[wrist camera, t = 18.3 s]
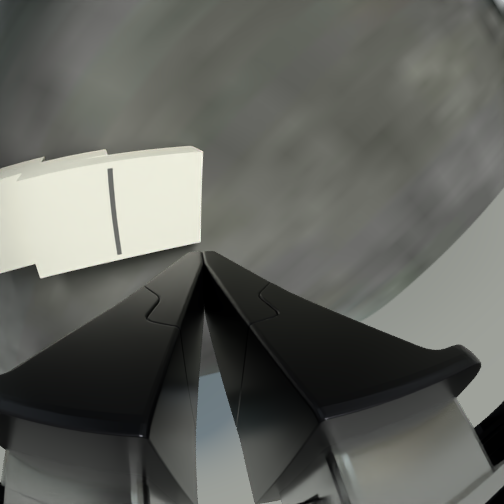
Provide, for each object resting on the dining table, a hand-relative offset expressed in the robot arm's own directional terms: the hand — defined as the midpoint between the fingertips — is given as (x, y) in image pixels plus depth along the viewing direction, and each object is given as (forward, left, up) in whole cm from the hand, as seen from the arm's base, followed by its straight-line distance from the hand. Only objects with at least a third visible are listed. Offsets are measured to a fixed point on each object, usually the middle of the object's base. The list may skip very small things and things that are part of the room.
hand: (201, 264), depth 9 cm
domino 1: (0, 0, -7) cm, 7 cm away
